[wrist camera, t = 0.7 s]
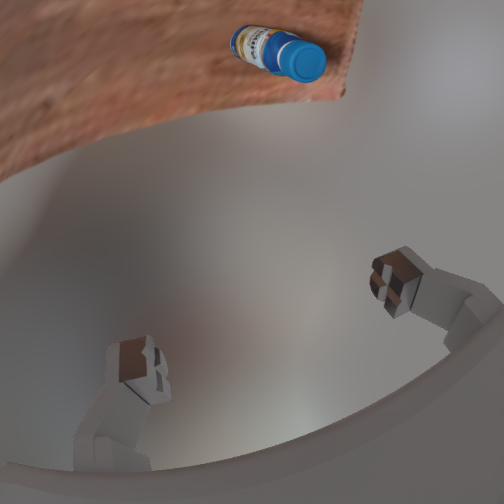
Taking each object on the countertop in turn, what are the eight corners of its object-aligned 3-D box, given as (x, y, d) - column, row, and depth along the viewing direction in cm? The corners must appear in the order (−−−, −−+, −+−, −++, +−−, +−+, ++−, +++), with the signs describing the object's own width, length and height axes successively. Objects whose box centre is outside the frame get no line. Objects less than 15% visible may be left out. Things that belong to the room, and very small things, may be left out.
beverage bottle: (249, 67, 47) (307, 98, 36) (219, 46, 41) (273, 67, 30) (274, 39, 43) (340, 62, 33) (247, 16, 37) (311, 27, 26)
